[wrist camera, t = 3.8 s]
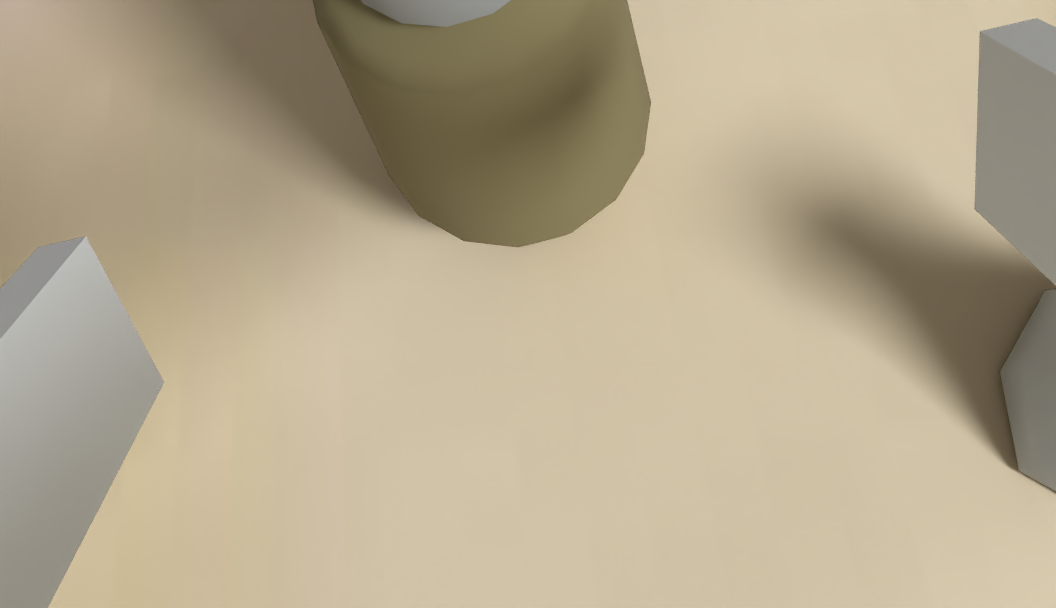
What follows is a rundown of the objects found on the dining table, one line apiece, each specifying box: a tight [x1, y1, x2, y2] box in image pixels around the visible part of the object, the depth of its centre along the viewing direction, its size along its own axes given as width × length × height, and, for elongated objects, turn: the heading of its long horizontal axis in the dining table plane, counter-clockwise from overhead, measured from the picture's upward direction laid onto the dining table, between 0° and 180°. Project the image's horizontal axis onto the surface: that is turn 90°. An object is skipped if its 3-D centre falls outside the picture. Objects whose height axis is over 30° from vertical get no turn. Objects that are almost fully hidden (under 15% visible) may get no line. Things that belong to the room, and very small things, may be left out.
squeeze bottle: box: [313, 0, 651, 247], centre depth 22 cm, size 8×8×18 cm
